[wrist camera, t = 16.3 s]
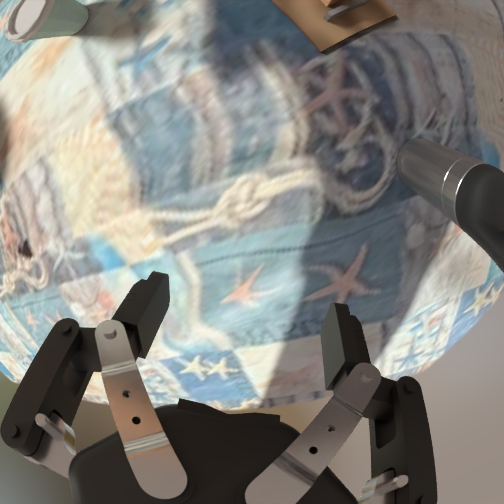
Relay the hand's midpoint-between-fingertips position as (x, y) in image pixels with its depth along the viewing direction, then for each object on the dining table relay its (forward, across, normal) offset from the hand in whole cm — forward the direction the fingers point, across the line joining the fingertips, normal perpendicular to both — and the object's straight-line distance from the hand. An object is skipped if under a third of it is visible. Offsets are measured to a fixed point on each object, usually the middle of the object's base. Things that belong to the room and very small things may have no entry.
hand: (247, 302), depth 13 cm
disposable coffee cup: (+31, +39, -26) cm, 56 cm away
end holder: (+32, -4, -30) cm, 45 cm away
